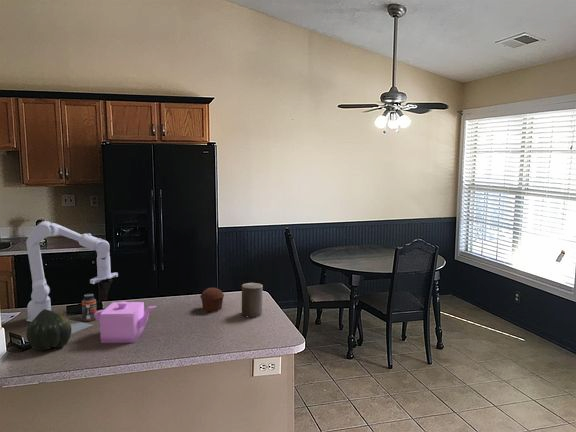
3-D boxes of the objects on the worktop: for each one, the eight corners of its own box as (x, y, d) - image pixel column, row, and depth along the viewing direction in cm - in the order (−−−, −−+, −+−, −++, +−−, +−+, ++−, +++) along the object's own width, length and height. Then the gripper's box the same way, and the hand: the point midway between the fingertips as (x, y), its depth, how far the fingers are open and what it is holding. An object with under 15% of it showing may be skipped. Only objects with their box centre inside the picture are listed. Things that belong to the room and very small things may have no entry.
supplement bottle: (91, 322, 199) (90, 297, 197) (79, 321, 200) (78, 296, 198) (99, 317, 204) (98, 293, 203) (88, 316, 206) (86, 292, 204)
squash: (65, 340, 164) (67, 302, 172) (19, 346, 160) (23, 307, 168) (73, 353, 176) (74, 317, 184) (30, 359, 172) (33, 322, 180)
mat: (36, 331, 188) (36, 330, 188) (67, 320, 201) (67, 319, 201) (62, 337, 181) (62, 336, 181) (93, 325, 194) (93, 324, 194)
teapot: (153, 342, 177) (152, 307, 175) (88, 343, 175) (86, 308, 174) (161, 328, 192) (160, 296, 190) (102, 329, 190) (100, 297, 189)
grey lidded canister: (243, 318, 204) (243, 286, 202) (240, 311, 213) (240, 280, 211) (264, 316, 206) (264, 285, 204) (260, 310, 215) (260, 279, 214)
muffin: (205, 304, 223) (204, 284, 222) (226, 305, 222) (226, 285, 221) (197, 312, 212) (196, 291, 210) (219, 313, 210) (219, 292, 209)
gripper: (97, 270, 199) (98, 300, 201) (122, 264, 212) (123, 292, 214) (86, 269, 202) (87, 298, 204) (111, 262, 215) (112, 290, 217)
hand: (105, 295), depth 209 cm, fingers closed
